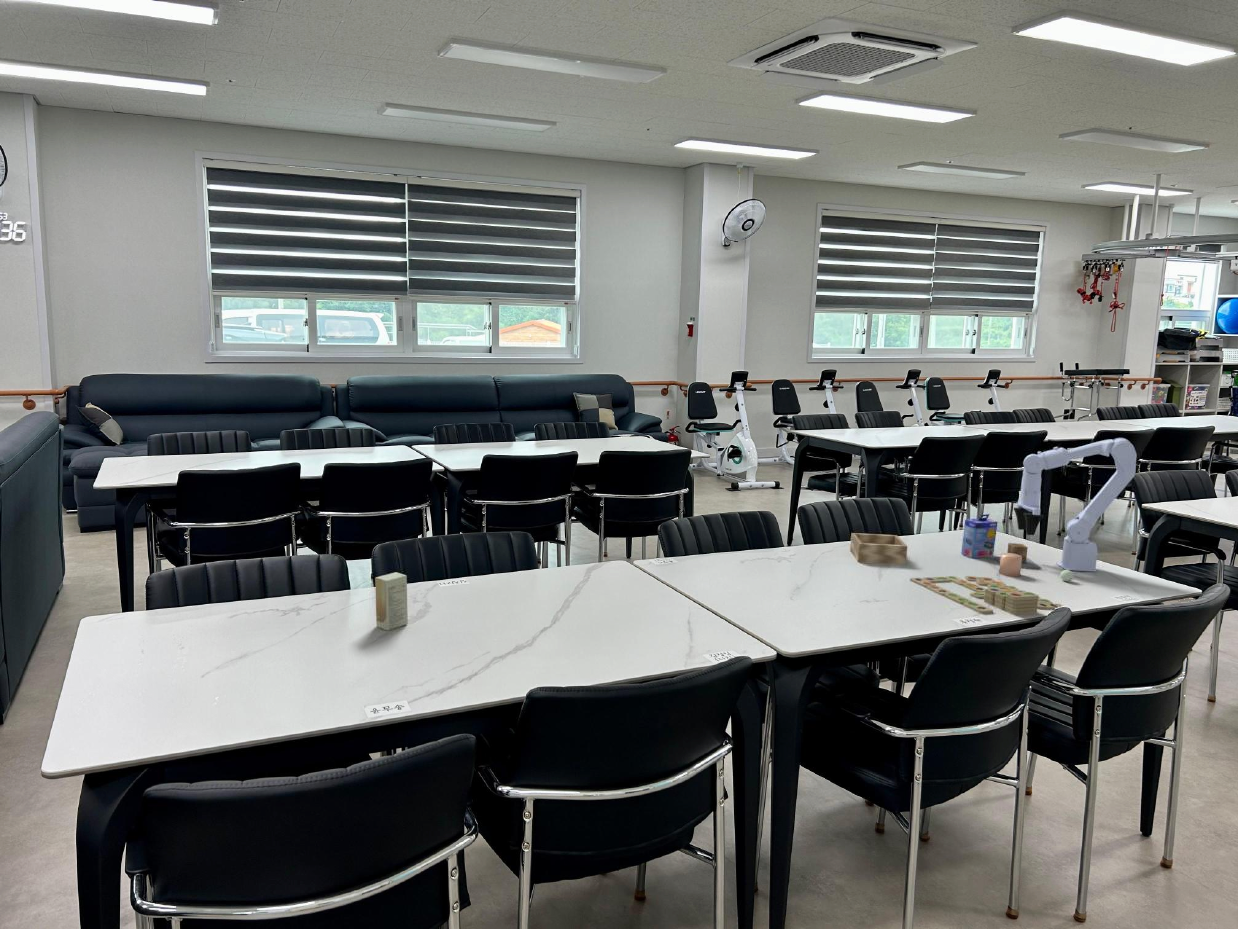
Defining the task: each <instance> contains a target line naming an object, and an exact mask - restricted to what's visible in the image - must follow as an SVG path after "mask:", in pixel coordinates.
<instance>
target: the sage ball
mask: <svg viewBox="0 0 1238 929" xmlns="http://www.w3.org/2000/svg"><path fill="white" fill-rule="evenodd" d="M1059 577H1060V579H1061V580H1062V581H1064V582H1068V583H1069V582H1071V581H1072V580H1073V578H1074V574H1073V571H1072V570H1065V569H1063V570H1062V571H1061V572H1060V576H1059Z"/></svg>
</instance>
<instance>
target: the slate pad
mask: <svg viewBox="0 0 1238 929" xmlns="http://www.w3.org/2000/svg"><path fill="white" fill-rule="evenodd" d="M993 559H994V560H995V561H996V562H998V563H999V564H1000V559H1001V556H997V555H995V556H994V555H993ZM1041 568H1042V566H1040V565H1038V564H1037V563H1036V562H1034V561H1033V560H1031V558H1029V557H1027V558H1026V564H1021V569H1033V570H1034V569H1035V570H1038V569H1039V570H1041Z"/></svg>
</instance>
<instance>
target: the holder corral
mask: <svg viewBox="0 0 1238 929" xmlns="http://www.w3.org/2000/svg"><path fill="white" fill-rule="evenodd" d="M849 547H850V548H849V551H850V552H851V554H852V555H853V557H854V558H855V560H856V561H857V563H866V564H867V563H869V564H887V565H905V566H906V565H907V556H908V554H907V553H908V545H907V544H906V543H905V542H904V541H903V540H902V539H901V538H900V536H898V535H897V534H895V535H893V534H877V533H876V534H875V533H857V532H851V536H850V546H849Z"/></svg>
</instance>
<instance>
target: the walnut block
mask: <svg viewBox="0 0 1238 929" xmlns="http://www.w3.org/2000/svg"><path fill="white" fill-rule="evenodd" d="M1006 553H1013V554H1018V555H1021V556H1022V562H1021V564H1026V558H1028V546H1027V545H1025V544H1024V543H1011V542H1008V544H1007V552H1006Z"/></svg>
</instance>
